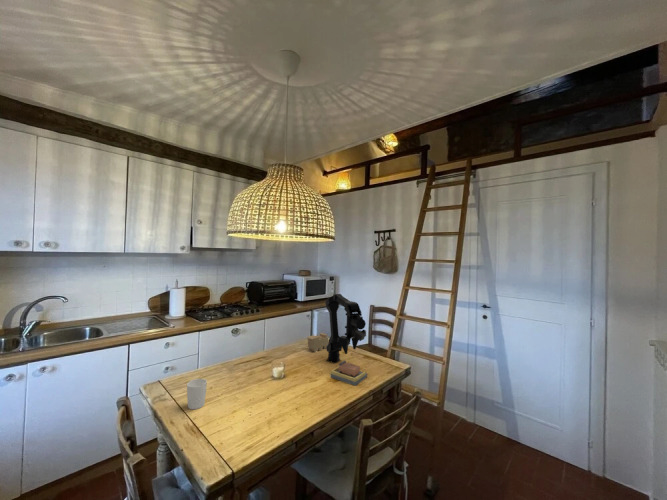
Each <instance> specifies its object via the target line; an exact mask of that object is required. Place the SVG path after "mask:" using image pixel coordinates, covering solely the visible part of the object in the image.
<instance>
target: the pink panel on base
mask: <svg viewBox="0 0 667 500" xmlns="http://www.w3.org/2000/svg"><path fill="white" fill-rule="evenodd" d="M338 366H339V372H340V373H341V374H342V373H345V374H348V375H350V376H351V377H353V376H356V375H357V374H359V373H360V370H361V369H360V368H361V366H359V365H356V364H353V363H350V362H347V360H343V361H341V362H339V363H338Z"/></svg>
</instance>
